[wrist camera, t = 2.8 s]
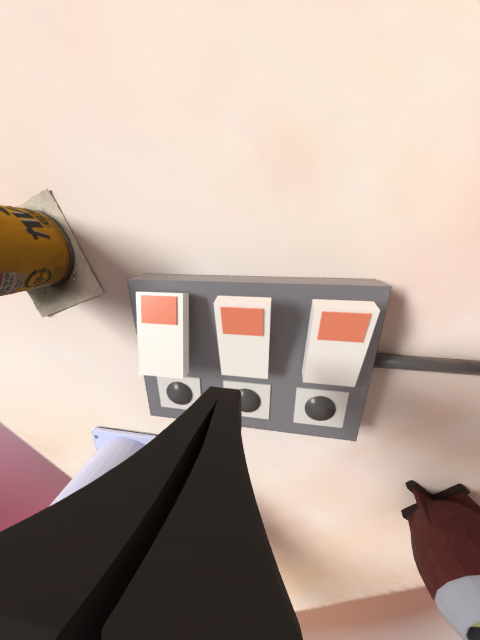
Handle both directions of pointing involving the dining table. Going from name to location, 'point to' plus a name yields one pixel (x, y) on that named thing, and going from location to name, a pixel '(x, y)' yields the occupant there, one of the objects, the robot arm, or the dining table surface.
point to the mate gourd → (448, 553)
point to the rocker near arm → (163, 334)
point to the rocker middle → (243, 335)
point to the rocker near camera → (338, 340)
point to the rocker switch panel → (277, 353)
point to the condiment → (43, 256)
